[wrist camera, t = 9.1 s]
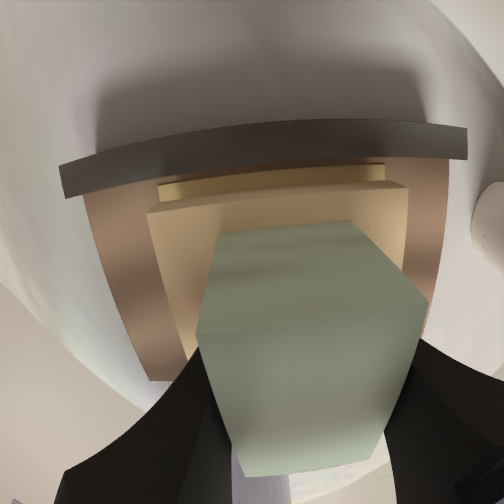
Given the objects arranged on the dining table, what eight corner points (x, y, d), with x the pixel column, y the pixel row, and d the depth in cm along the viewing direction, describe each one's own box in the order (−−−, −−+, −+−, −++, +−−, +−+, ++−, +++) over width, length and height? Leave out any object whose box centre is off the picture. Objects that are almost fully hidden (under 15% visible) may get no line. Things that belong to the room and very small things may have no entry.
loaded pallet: (372, 352, 14) (415, 451, 8) (203, 372, 14) (189, 484, 8) (390, 180, 10) (510, 242, 4) (158, 202, 10) (67, 293, 4)
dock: (406, 332, 18) (427, 364, 15) (156, 360, 19) (144, 397, 15) (427, 124, 12) (466, 128, 9) (95, 156, 13) (58, 165, 10)
